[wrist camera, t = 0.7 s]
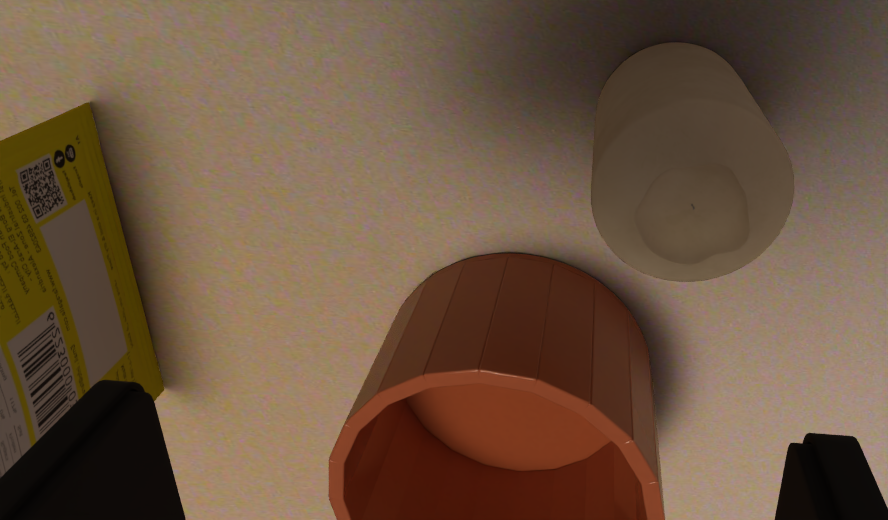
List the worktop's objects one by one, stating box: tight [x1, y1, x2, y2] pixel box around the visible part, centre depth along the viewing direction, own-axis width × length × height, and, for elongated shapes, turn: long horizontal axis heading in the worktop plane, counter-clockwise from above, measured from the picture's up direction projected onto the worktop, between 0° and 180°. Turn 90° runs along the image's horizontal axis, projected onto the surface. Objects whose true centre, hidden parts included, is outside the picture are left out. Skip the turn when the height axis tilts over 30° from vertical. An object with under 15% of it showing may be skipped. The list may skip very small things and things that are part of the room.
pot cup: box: [329, 253, 665, 520], centre depth 32 cm, size 12×12×9 cm
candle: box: [591, 42, 794, 282], centre depth 25 cm, size 6×6×10 cm
